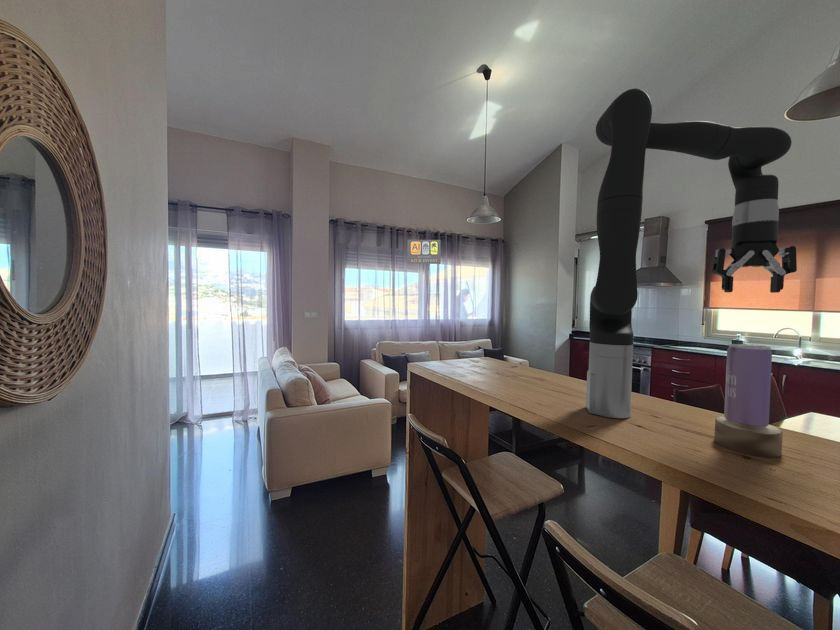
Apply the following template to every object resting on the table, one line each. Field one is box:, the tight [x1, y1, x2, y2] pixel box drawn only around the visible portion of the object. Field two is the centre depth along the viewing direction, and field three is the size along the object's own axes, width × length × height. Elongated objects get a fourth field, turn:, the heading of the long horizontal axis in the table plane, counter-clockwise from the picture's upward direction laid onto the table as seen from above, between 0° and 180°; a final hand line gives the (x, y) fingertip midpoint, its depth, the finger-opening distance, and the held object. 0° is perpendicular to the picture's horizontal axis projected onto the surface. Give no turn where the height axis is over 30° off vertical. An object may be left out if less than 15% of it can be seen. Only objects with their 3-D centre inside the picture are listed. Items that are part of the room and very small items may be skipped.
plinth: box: [713, 416, 784, 458], centre depth 62 cm, size 9×9×4 cm
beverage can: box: [723, 343, 773, 429], centre depth 62 cm, size 6×6×15 cm
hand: (751, 292), depth 77 cm, fingers open, 8 cm apart
